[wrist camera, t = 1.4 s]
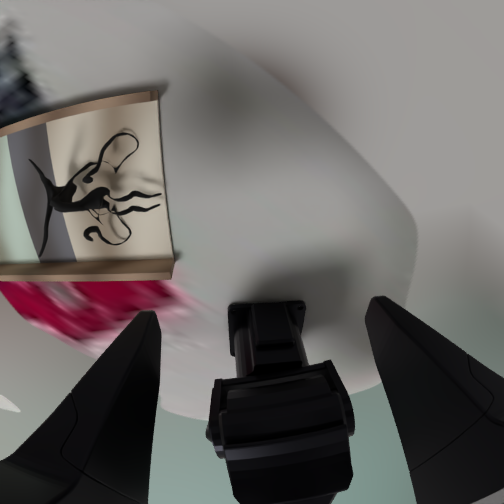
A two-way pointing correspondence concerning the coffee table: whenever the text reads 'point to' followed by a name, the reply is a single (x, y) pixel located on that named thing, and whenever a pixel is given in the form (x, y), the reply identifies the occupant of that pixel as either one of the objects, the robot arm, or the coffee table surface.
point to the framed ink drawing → (74, 223)
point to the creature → (88, 197)
